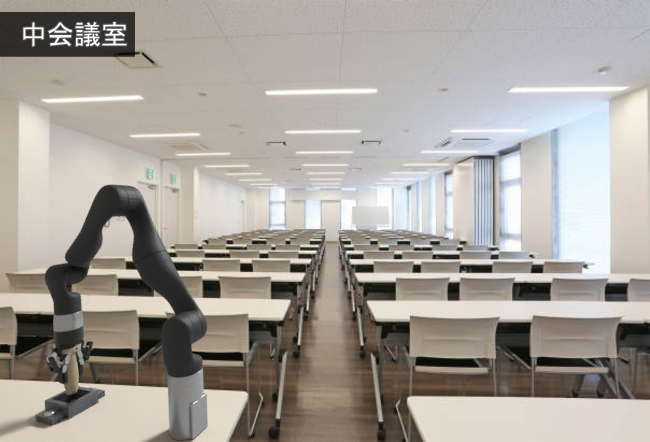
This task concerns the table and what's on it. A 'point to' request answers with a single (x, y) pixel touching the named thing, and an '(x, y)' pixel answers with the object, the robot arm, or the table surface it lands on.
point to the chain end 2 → (86, 399)
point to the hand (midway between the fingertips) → (71, 379)
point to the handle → (72, 370)
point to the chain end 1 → (56, 409)
